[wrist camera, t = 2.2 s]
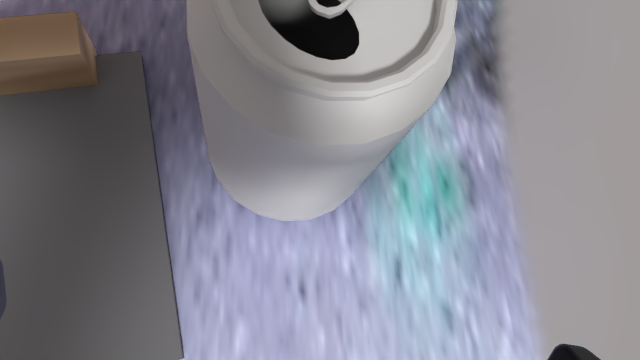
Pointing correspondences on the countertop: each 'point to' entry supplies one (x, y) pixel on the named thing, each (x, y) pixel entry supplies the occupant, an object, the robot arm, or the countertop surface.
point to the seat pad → (85, 223)
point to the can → (312, 92)
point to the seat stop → (45, 53)
